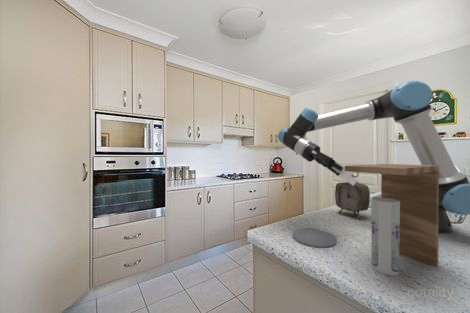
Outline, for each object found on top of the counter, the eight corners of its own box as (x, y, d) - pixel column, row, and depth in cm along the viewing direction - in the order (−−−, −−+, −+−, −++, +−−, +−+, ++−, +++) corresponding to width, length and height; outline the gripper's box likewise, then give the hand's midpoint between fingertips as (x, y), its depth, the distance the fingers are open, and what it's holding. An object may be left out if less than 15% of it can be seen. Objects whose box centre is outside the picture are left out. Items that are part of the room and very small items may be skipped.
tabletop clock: (335, 213, 110) (335, 168, 110) (346, 211, 114) (346, 168, 114) (360, 221, 97) (360, 170, 97) (371, 218, 100) (372, 170, 100)
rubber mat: (331, 232, 82) (331, 230, 82) (341, 250, 67) (341, 247, 67) (292, 228, 87) (292, 226, 87) (293, 244, 71) (293, 242, 71)
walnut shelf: (383, 246, 70) (383, 163, 70) (438, 265, 58) (438, 165, 58) (344, 265, 58) (344, 165, 58) (403, 294, 46) (403, 168, 46)
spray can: (372, 260, 60) (372, 196, 60) (399, 268, 56) (399, 199, 56) (370, 270, 55) (370, 200, 55) (400, 279, 51) (400, 203, 51)
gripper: (310, 164, 95) (351, 192, 81) (291, 147, 76) (340, 181, 63) (320, 151, 94) (363, 178, 80) (304, 132, 75) (356, 162, 61)
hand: (353, 179), depth 71 cm, fingers open, 13 cm apart
